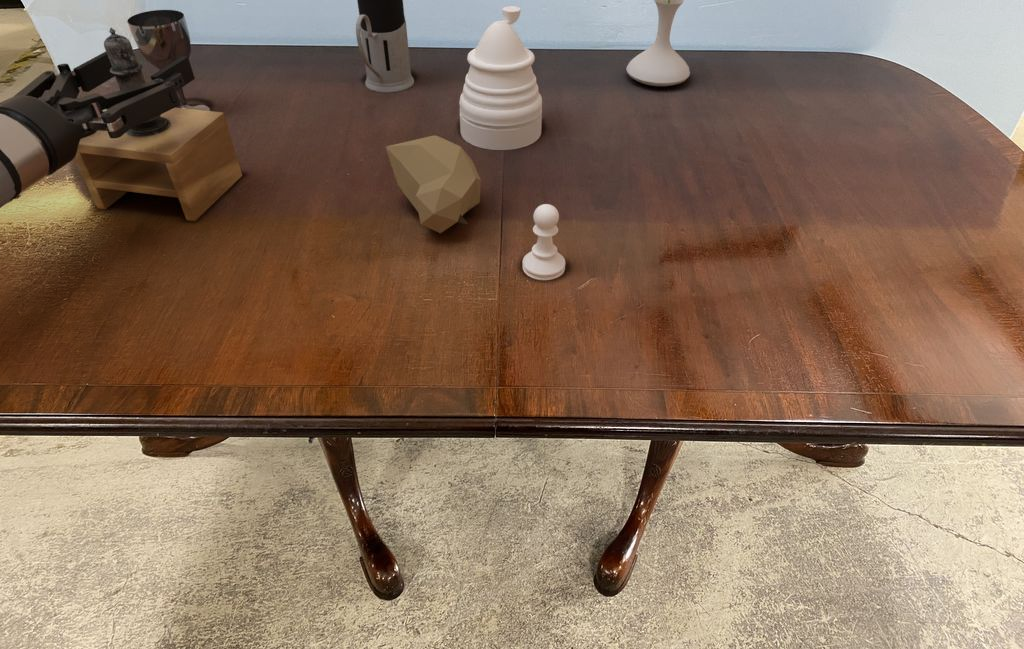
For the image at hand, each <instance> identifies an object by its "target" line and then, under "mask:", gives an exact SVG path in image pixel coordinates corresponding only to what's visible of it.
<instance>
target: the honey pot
mask: <svg viewBox="0 0 1024 649" xmlns="http://www.w3.org/2000/svg"><path fill="white" fill-rule="evenodd" d="M521 11H522V9H521V7H519V6H515V5H509V6H504V7H502V15H503V18H504V20H496V21H494V22H492V23H491V24H490V25H489V26H488V27H487V28H486V30H485V31H484V33H483V34H482V36H481V38H480V40H479V42H478V43H477V46H476V47H475V48H473V49H471V50H470V51H469V52H468V53H467V57H466V60H467V62H468V64H469V65H470V66H469V68H468V72H467V73H466V75H465V78H464V84H463V88H462V92H461V94H460V97H459V103H458V104H459V127H460V128H459V130H460V132H459V133H460V135H461V138H462V139H463V140H464V141H465V142H466V143H468V144H470V145H472V146H474V147H477V148H480V149H485V150H492V151H512V150H518V149H522V148H525V147H529V146H530V145H533V144H534V143H536V142H537V141H538V140H539V139H540V137H541V135H542V123H543V122H542V121H543V98H542V95H541V94H540V92H539V85H538V83H537V76H536V75H535V73H534V70H533V67H532V65H533V64H534V62H535V60H536V58H535V54H534V52H533V51H532V50H530V49H529V48H527V47H525V46H524V44H523V41H522V40H521V38H520V36H519V34H518V33H517V31H516V30H515V28H514V27H513V26H512V25H513V24H515V23H516V22H517V21H518V20H519V18H520V16H521Z"/></svg>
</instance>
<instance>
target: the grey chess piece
mask: <svg viewBox="0 0 1024 649" xmlns="http://www.w3.org/2000/svg"><path fill="white" fill-rule="evenodd" d="M109 33H110V35H109V36H108V37H106V38H105V39H104V42H103V47H104V50H105V52H106V53H107V55H108V58H109V60H110V63H111V65H112V68H111V69H110V72H111V73H112V74H114V75H115V77H114V78H115V80H116V82H117V86H118V88H119V90H122V89H126V88H129V87H132V86H135V85H139V84H142V83H145V82H146V80H145V76H144V74H143V72H142V69H143V68H144V66H143V64H142V63H139V62H138V60H137V57H136V54H135V51H134V49H133V46H132V44H131V40H129V39H128V38H127V37H126V36H123V35H121V34H118V33H116V30H115V29H114V28H113V27H110V28H109ZM170 125H171V122H170V121H169V120H168V119H166V118H163V117H160V115H159V116H157V117H155V118H152V119H150V120H148V121H146V122H144V123H142V124H140V125H138V126H136V127H134V128H132V129H130V130H128V131H127V132H126V133H127V134H129V135H131V136H150V135H155V134H158V133H161V132H163V131H165V130H167V129H168V128H169V127H170Z"/></svg>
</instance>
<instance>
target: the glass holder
mask: <svg viewBox="0 0 1024 649" xmlns="http://www.w3.org/2000/svg"><path fill="white" fill-rule="evenodd" d="M357 8H358V17H357V19H356V22H355V36H356V41H357V47H358V51H359V55H360V57H361V59H362V62H363V63H364V66H365V74H366V80H365V81H364V82H365V87H366V88H367V89H368V90H370V91H373V92H377V93H398V92H402V91H405V90H408V89H411V87H413V85H414V84H415V79H414V77H413V76H412V72H411V60H410V59H411V58H410V49H409V39H408V30H407V21H406V16H405V8H404V0H357Z"/></svg>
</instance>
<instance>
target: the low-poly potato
mask: <svg viewBox="0 0 1024 649" xmlns="http://www.w3.org/2000/svg"><path fill="white" fill-rule="evenodd" d="M385 149H386V152H387V156H388V159H389V162H390V165H391V170H392V172H393V175H394V178H395V182H396V185H397V186H398V187H399V188H400V190H401V191H402V193H403V194H404V195H405V197H406V198H407V199H408V201H409V202H410V204H411V205H412V206H413V207H414V209H415V210H416V212H417V213H418V217H419V224H420V225H421V226H423V227H425V228H427V229H430V230H431V231H435V232H437V233H439V234H442V233H443V232H445V231H446V230H448V229H449V228H451V227H452V226H454V225H455V224H462V225H469V223H468V222H467V221H466V219H465V218H464V217H463V216H464V215H465V214H467V213H468V212H469V211H470V210H472V209H473V208H475V207H476V206H477V205H478V204H480V203H481V189H482V188H481V186H482V180H481V177H480V175H479V172H478V170H477V168H476V165H475V163H474V162H473V159H472V158H471V157H470V156H469V155H468V153H467V152H466V150H464V149H463V147H462V146H461V145H459V144H456V143H454V142H452V141H450V140H447V139H445V138H442V137H441V136H438V135H436V134H434V135H429V136H426V137H425V136H424V137H421V138H417V139H412V140H409V141H403V142H399V143H395V144H391V145H387V146H385Z"/></svg>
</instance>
